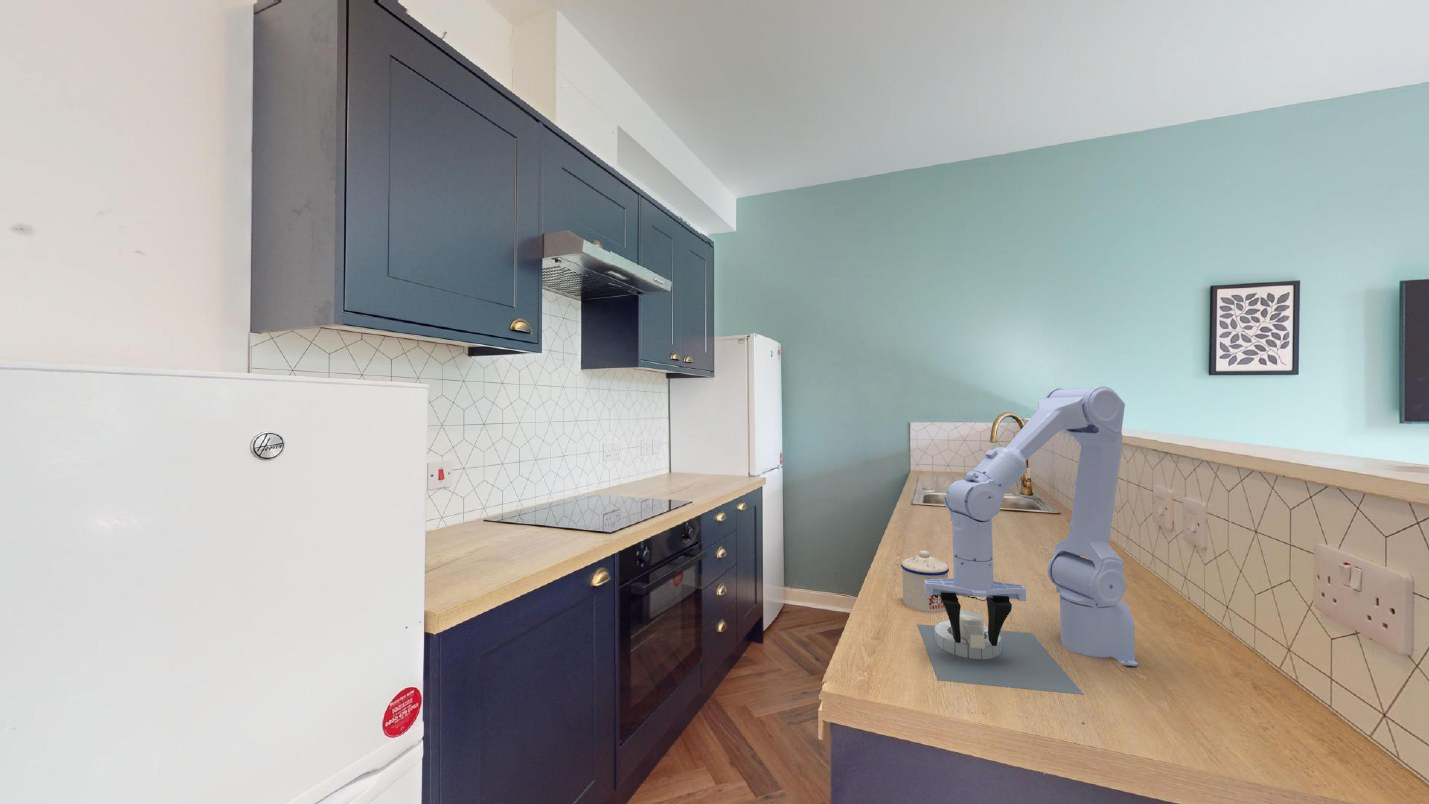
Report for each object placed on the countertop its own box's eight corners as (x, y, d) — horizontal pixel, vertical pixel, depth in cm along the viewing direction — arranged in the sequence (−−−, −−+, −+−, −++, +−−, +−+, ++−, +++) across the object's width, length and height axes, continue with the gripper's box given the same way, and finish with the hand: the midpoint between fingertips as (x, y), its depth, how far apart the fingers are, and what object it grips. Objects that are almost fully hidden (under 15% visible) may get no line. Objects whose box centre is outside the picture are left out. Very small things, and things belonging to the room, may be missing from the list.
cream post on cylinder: (948, 637, 90) (948, 608, 90) (980, 640, 89) (979, 611, 89) (960, 662, 81) (960, 630, 81) (995, 665, 80) (994, 633, 80)
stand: (1031, 638, 91) (1030, 621, 91) (1084, 701, 72) (1083, 679, 72) (917, 629, 96) (916, 613, 96) (937, 686, 76) (937, 666, 76)
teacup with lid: (936, 621, 99) (935, 560, 99) (893, 608, 106) (892, 551, 106) (964, 605, 107) (962, 548, 107) (921, 593, 114) (920, 540, 114)
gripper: (928, 561, 80) (930, 648, 80) (1032, 566, 77) (1034, 657, 77) (921, 549, 87) (923, 629, 87) (1016, 553, 84) (1018, 637, 84)
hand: (974, 641), depth 82 cm, fingers open, 5 cm apart
